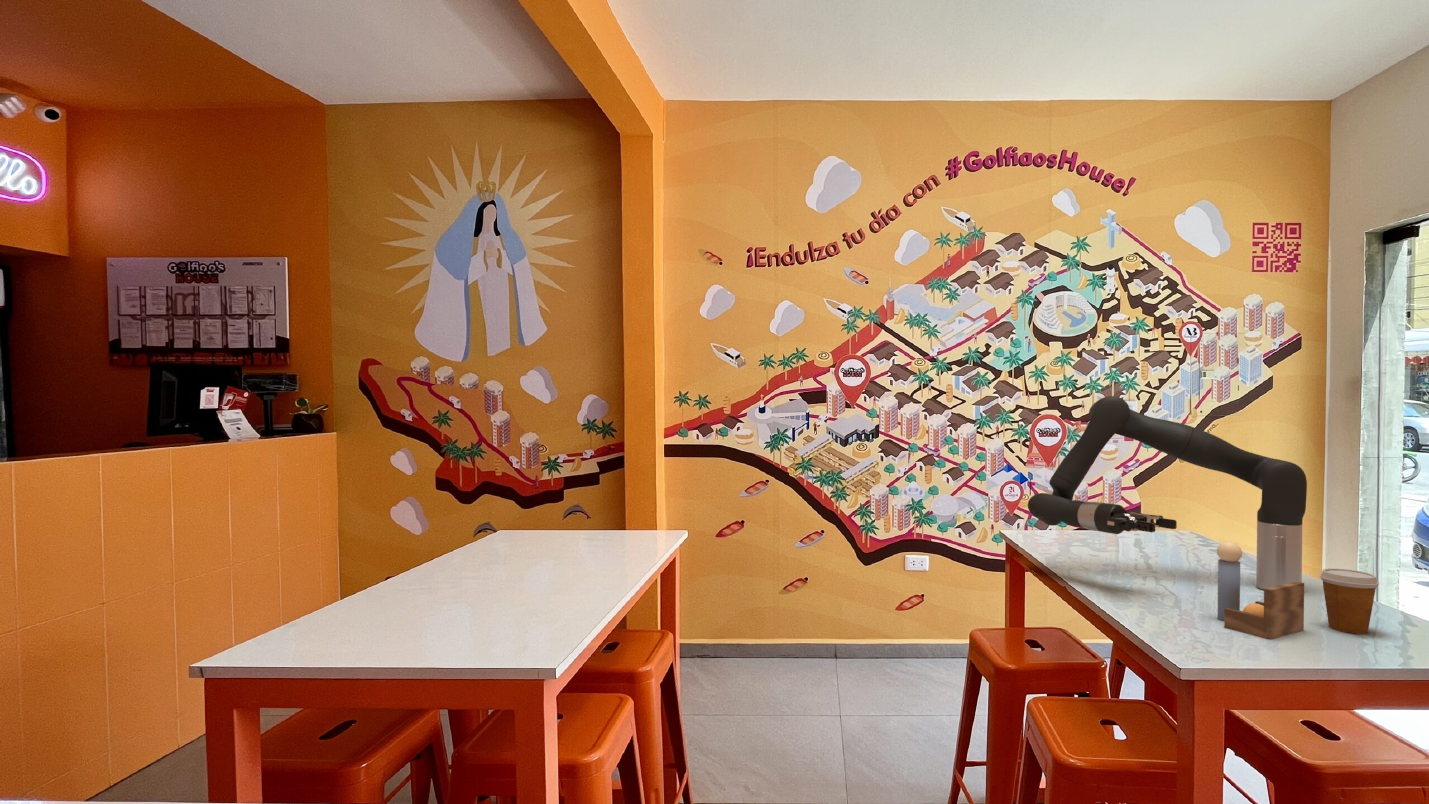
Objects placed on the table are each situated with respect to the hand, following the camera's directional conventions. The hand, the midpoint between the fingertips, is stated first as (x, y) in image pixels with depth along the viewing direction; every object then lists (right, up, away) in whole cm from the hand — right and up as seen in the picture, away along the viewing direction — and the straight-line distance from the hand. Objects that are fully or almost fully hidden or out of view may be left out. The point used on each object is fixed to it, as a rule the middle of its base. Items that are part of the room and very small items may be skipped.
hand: (1165, 526), depth 174 cm
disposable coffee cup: (+27, -19, -20) cm, 38 cm away
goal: (+9, -18, -19) cm, 28 cm away
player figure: (+6, -18, -14) cm, 23 cm away
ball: (+8, -16, -19) cm, 26 cm away
